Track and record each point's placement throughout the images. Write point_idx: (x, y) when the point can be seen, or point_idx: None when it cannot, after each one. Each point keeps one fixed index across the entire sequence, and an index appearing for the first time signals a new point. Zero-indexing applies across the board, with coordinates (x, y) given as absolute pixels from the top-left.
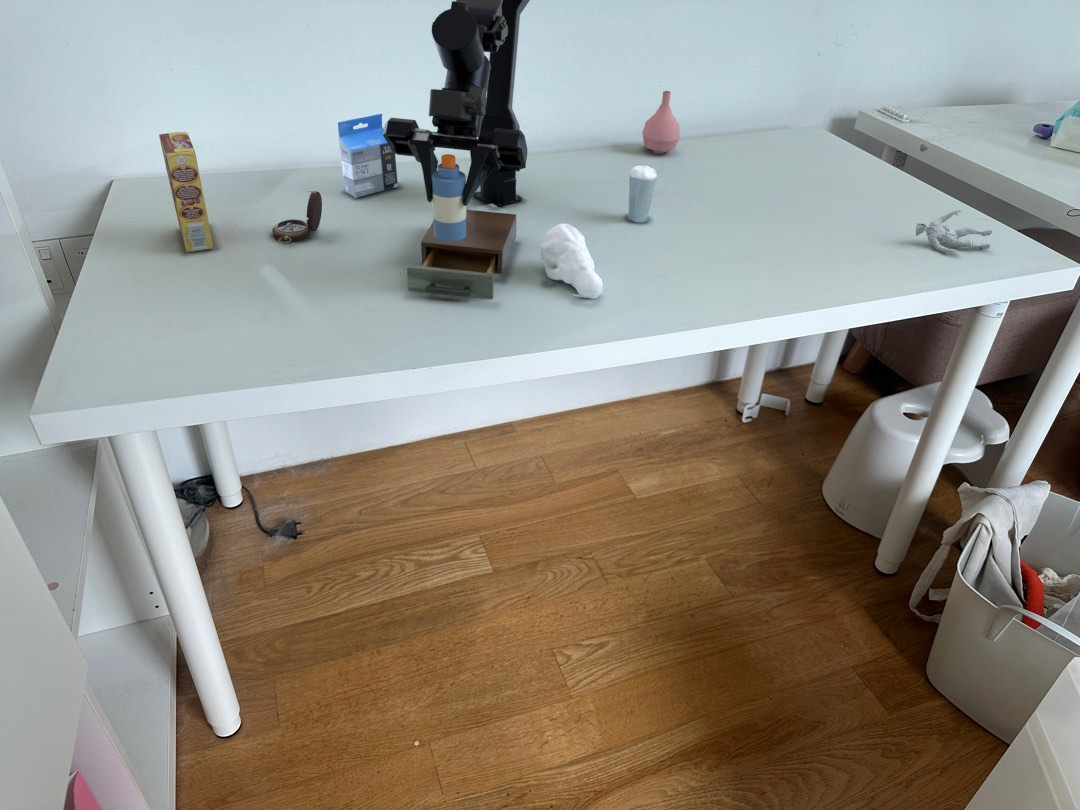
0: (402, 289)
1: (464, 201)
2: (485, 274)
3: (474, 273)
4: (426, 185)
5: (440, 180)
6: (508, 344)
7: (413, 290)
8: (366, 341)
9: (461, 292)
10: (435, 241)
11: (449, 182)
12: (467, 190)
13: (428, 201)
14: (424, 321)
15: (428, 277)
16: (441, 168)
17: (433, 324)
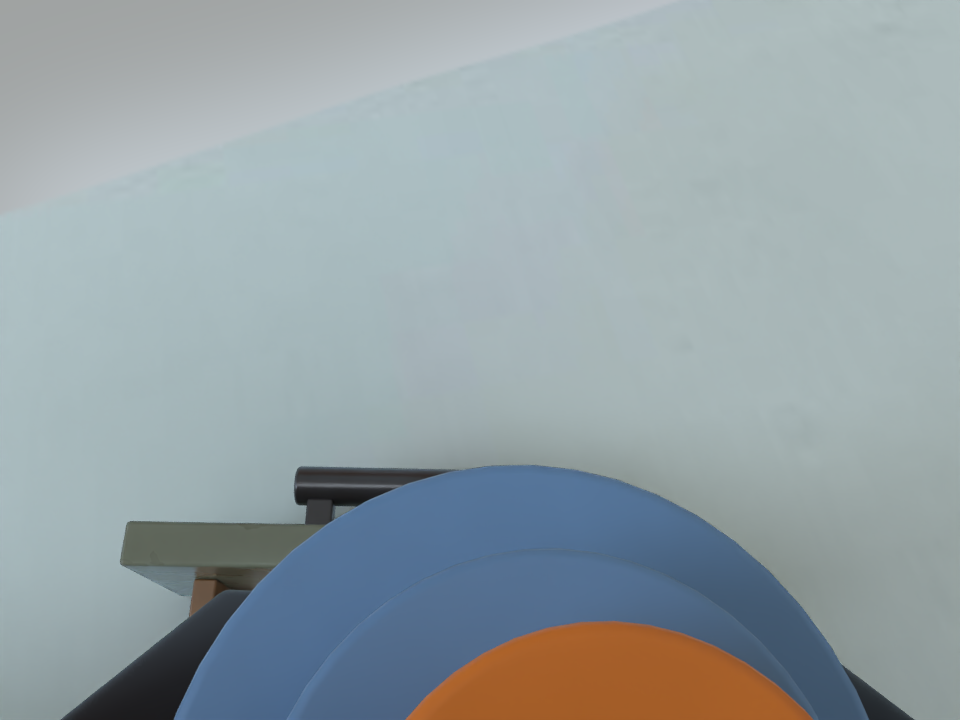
0: None
1: (235, 597)
2: (178, 537)
3: (254, 537)
4: (884, 713)
5: (623, 489)
6: (102, 252)
7: None
8: (699, 190)
9: (341, 468)
10: None
11: (441, 476)
12: (156, 687)
13: None
14: (511, 369)
15: None
16: (703, 635)
17: (464, 351)
